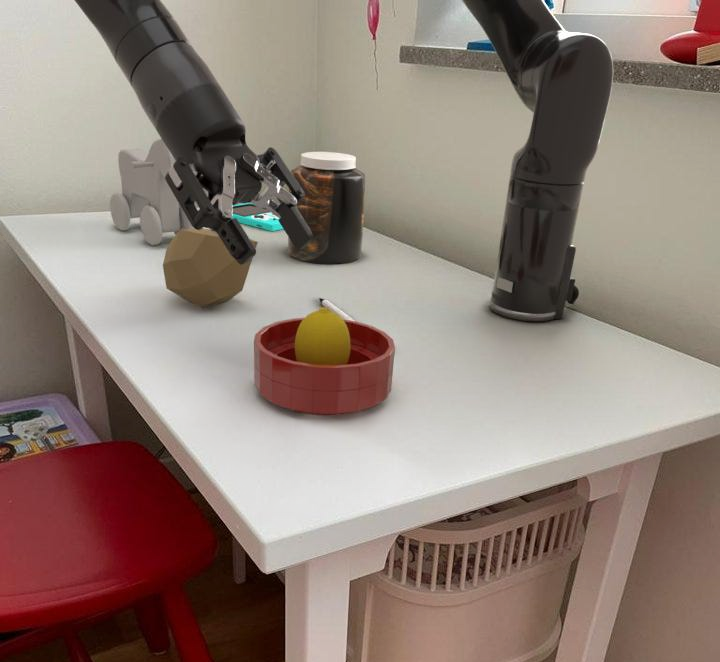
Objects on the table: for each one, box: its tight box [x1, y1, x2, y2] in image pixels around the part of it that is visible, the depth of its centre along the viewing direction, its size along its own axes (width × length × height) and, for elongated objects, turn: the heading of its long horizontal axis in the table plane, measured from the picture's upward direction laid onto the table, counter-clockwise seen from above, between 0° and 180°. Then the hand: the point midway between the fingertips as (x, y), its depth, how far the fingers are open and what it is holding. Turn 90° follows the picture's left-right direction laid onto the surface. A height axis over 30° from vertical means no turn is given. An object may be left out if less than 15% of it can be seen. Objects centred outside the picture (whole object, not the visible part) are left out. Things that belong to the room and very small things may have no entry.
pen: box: [318, 297, 355, 321], centre depth 97 cm, size 1×19×1 cm, turn 26°
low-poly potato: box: [162, 227, 259, 308], centre depth 100 cm, size 15×11×12 cm
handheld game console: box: [231, 203, 284, 232], centre depth 144 cm, size 10×16×1 cm, turn 51°
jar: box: [287, 151, 366, 264], centre depth 121 cm, size 12×12×15 cm
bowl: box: [253, 317, 396, 416], centre depth 78 cm, size 14×14×6 cm
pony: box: [109, 137, 193, 247], centre depth 124 cm, size 20×10×17 cm, turn 40°
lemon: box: [295, 306, 350, 366], centre depth 77 cm, size 6×6×8 cm
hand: (278, 251), depth 75 cm, fingers open, 8 cm apart
